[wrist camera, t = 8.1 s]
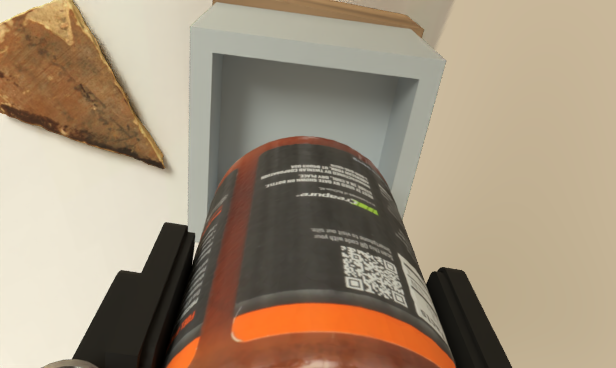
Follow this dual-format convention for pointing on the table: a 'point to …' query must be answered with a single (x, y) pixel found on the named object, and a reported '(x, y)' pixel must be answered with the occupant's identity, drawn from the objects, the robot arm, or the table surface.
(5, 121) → the table surface
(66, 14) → the shard
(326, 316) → the supplement bottle
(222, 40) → the tower top
